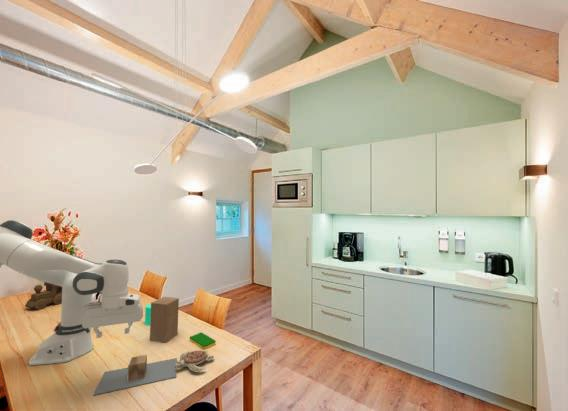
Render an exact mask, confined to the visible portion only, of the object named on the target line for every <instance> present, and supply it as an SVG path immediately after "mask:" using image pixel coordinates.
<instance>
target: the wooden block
mask: <svg viewBox="0 0 568 411" xmlns="http://www.w3.org/2000/svg"><path fill="white" fill-rule="evenodd" d="M179 303H180V298H179V297H178V298H177V297H170V296H169V297H168V296H162V297H161V298H158V299H155V300H154V301H152V302H150V305H151V320H150V325H149V327H150V328H149V341H150V342H151V341H152V342H158V343H165V344H166V343H168V342H169V341H170V340H172V338H174V337H176V336H177V335H178V333H179V331H178V329H179V328H178V327H179V307H180V306H179Z"/></svg>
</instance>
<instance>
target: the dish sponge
mask: <svg viewBox="0 0 568 411" xmlns="http://www.w3.org/2000/svg"><path fill="white" fill-rule="evenodd" d="M189 342H191V343H192V344H194V345H195V346H196V347H199V348H200V349H201V350H202V351H206V350H207V349H209V348H211V347H214V346H216V343H217V342H216V340H215V339H214V338H212V337H210V336H209V335H207V334H205V333H203V332H199V333H196V334H193V335H190V336H189Z"/></svg>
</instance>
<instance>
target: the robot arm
mask: <svg viewBox="0 0 568 411" xmlns="http://www.w3.org/2000/svg"><path fill="white" fill-rule="evenodd" d="M32 238H33V229H32V228H31V227H30V226H29V225H28V224H27V223H24V222H21V221H17V220H13V219H12V220H11V219H10V220H9V219H8V220H5V221H4V222H2V223H0V268H1V267H2V266H3V265H5V266H6V267H8V268H10V269H11V270H13V271H15V272H18V273H19V274H22V275H25V276H27V277H29V278H32V279H33V280H37V281H38V282H39V281H40V282H42V283H44V282H47V283H51V284H55V285H58V286H61V287H62V303H61V312H60V322H58V323H57V325H56V326H55V327H54V329H53V334H52V335H50V336H49V337H48V338H46V339H45V340H44V341H42V343H41V344H39V346H38V348H37V351H36V353H35V354H33V355H32V356H31V357H30V359H29V360H28V366H39V365H49V364H51V365H52V364H63V363H67V362H70V361H72V360H73V359H76V358H79V357H81V356H84V355H86V354H88V353H89V352H90V351H91V350H92V349H93V348H94V343H93V341H92V335H91V334H92V333H91V331H92V330H93V332H94V333H95V334H96V339H100V338H102V336H103V331H100V330H99V328H100V327H107V326H113V325H114V326H115V325H121V324H128V326H127V327H125V329H124V335H126V334H130V328H132V325H133V323H134V322H135V323H136V322H140V321H141V320H142V319H143V316H144V309H143V303H142V302H141V295H140V294H135V293H130V292H129V289H128V283H129V266H128V263H127V262H126V261H124V260H121V259H107V260H106V261H104V262H102V263H99V262H94V261H90V260H88V259H85V258H82V257H79V256H76V255H73V254H70V253H67V252H65V251H64V252H63V251H61V250H58V249H56V248H53V247H51V246H49V245H46V244H43V243H41V242H38V241H37V240H33V239H32ZM97 293H101V296H100V298H101V299H100V300H101V301H96V302H92V298H93V295H94V294H97Z"/></svg>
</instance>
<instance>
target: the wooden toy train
mask: <svg viewBox="0 0 568 411" xmlns="http://www.w3.org/2000/svg"><path fill="white" fill-rule="evenodd" d="M43 286H44V287H45V290H44V291H42V290H43V288H44V287H43ZM43 286H42V284H38V285H37V284H36V285H35V286H34V287H33V291H34V292H35V293H32V294H31V295H30V298H29V299H28V300H27V301H26V304H25V305H24V307H25V308H28V309H35V310H38V311H39V310H43V309H44V308H45V307H46V306H47V305H49V304H51V303H52V304H54V305H55V306H57V305H60V304H61V305H62V287H61V286H58V285H55V284H51V283H47V282H43Z"/></svg>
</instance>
